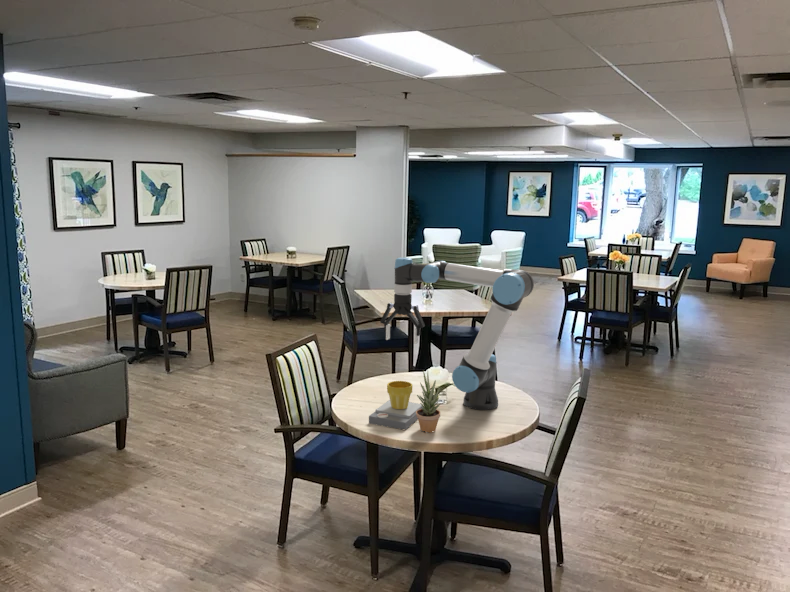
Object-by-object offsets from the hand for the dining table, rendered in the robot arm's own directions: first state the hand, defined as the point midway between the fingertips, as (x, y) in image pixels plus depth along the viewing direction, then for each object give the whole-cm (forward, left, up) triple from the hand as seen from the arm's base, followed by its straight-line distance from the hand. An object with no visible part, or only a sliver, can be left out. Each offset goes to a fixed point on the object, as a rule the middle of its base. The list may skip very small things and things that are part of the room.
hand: (401, 341), depth 278 cm
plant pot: (-8, +19, -23) cm, 31 cm away
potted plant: (-24, +28, -27) cm, 45 cm away
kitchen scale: (-8, +21, -27) cm, 35 cm away
